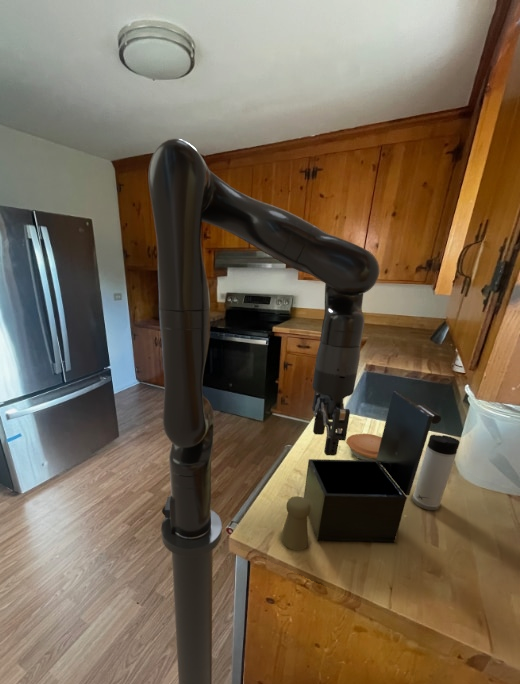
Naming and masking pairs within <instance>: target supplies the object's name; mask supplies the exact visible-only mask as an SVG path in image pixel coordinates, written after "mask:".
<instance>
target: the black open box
mask: <svg viewBox="0 0 520 684" xmlns="http://www.w3.org/2000/svg"><path fill="white" fill-rule="evenodd" d="M307 463H308V464H307V468H306V477H305V483H304V484H305V485H304V492H303V498H305V499H306V500H307V501H308V502H309V504H310V507H311V511H310V514H309V516H308V518H309V521H310V525H311V526H312V529H313V533H314V535H315V539H316V541H317V542H328V543H329V542H333V543H372V544H373V543H378V544H379V543H380V544H395V542H396V538H397V535H398V531H399V527H400V524H401V520H402V517H403V513H404V510H405V506H406V501H407V499H408V497H407V495H405V494H404V493H403V491H402V490H401V489H400V488H399V486H398V485H397V484H396V483H395V481H394V480H393V479H392V478H391V476H390V475H389V474H388V473H387V471H386V470H385V469H384V468H383V466H382V465H381V464H380V463H379V462H378V461H371V460H361V459H318V458H317V459H316V458H315V459H314V458H313V459H311V458H309V459H308V461H307Z"/></svg>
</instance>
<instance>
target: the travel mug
mask: <svg viewBox="0 0 520 684" xmlns="http://www.w3.org/2000/svg"><path fill="white" fill-rule="evenodd" d="M460 443H461V442H460V440H458V439H457V438H456V437H453V436H450V435H444V434H443V435H438V434H431V435H429V439H428V442H427V445H426V449H425V452H424V456H423V459H422V463H421V466H420V471H419V473H418V477H417V480H416V483H415V488H414V491H413V495H412V501H413V503H414V504H415V505H417V506H418V507H419V508H422V509H425V510H428V511H436V510H438V509H439V508H440V506H441V503H442V500H443V496H444V493H445V490H446V487H447V484H448V481H449V478H450V475H451V472H452V468H453V467H454V462H455V459H456V456H457V452H458V449H459V446H460Z"/></svg>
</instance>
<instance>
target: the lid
mask: <svg viewBox="0 0 520 684" xmlns="http://www.w3.org/2000/svg"><path fill="white" fill-rule="evenodd" d="M441 421H442V417H441V415H439V414H438V413H436V412H435V411H434V410H432V409H431V408H429V407H428V406H426V405H425V404H423V403H420V404H418V405H417V403H415V402H413V401H412V400H411V399H409V398H407V397H406V396H405V395H404V394H403V393H401V392H399V391H398V390H393V391H392V395H391V399H390V402H389V407H388V411H387V415H386V419H385V423H384V427H383V431H382V434H381V437H382V439H381V443H380V447H379V451H378V455H377V460H378V461H379V463H380V464H381V466H382V467H383V468H384V469H385V471H386V472H387V473H388V474H389V476H390V477H391V478H392V479H393V481H394V482H395V483H396V484H397V486H398V487H399V488H400V489H401V491H402V492H403V493H404V494H405V496H410V494H411V491H412V488H413V484H414V481H415V479H416V475H417V471H418V468H419V465H420V462H421V458H422V455H423V452H424V449H425V445H426V442H427V438H428V435H429V433H430V429H431V425H432V424H433V425H436V424H439V423H440V422H441Z"/></svg>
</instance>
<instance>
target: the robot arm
mask: <svg viewBox="0 0 520 684" xmlns="http://www.w3.org/2000/svg"><path fill="white" fill-rule="evenodd" d="M147 181H148V189H149V196H150V203H151V209H152V215H153V222H154V229H155V236H156V247H157V285H158V287H157V288H158V314H159V315H158V316H159V317H158V318H159V329H160V330H159V331H160V339H161V353H162V355H161V356H162V367H163V376H164V392H163V393H164V394H163V396H164V397H163V410H162V412H163V413H162V427H163V431H164V434H165V436H166V438H167V439H168V440H169V441H170V443H171V447H170V450H169V451H170V452H169V457H168V458H169V459H168V464H169V480H170V481H169V482H170V483H169V484H170V496H167V498H166V503H165V505H164V506H163V507H162V509H161V513H162V515H163V516H164V519H165V518H168V519H169V518H170V523H171V534H175V535H177V536H178V537H180V538H182V539H186V540H195V539H199V538H202V537H203V536H205V535H206V534H207V533H208V532H209V531H210V529H211V510H212V455H213V448H214V425H215V424H214V419H215V418H214V410H213V407H212V404H211V402H210V401H209V400H208V399H207V397H205V396H204V395H203V393H204V392H203V381H204V373H205V367H206V362H207V358H208V351H209V344H210V336H211V298H210V289H209V282H208V276H207V272H206V266H205V262H204V256H203V249H202V225H203V224H202V223H206V224H209V225H212V226H214V227H217V228H220V229H221V230H224V231H226V232H228V233H230V234H232V235H234V236H236V237H237V238H239V239H241V240H243V241H244V242H246V243H248V244H249V245H251V246H253V247H254V248H256V249H257V250H259V251H260V252H262V253H264V254H266V255H268V256H270V257H271V258H273V259H275V260H277V261H279V262H280V263H282V264H285V265H286V266H288V267H290V268H292V269H294V270H296V271H299V272H301V273H304V274H308V275H310V276H313V277H314V278H316V279H317V280H318V281H321V282H323V283H324V284H325V286H324V314H323V319H322V324H321V325H322V326H321V332H320V338H319V339H320V340H319V344H318V349H317V352H316V358H315V366H314V373H313V378H312V379H313V381H312V389H313V391H314V395H313V396H314V397H313V402H312V407H311V410H312V411H313V417H314V422H313V430H312V432H313V434H314V435H319V436H320V435H321V436H322V435H325V431H326V436H325V437H326V438H325V445H324V450H323V452H324V455H325V456H332V457H333V456H334V457H335V456H336V455H337V454H338V448H339V442H340V441H347V435H348V434H347V433H348V426H349V421H350V414H351V411H350V409H349V408H345V405H344V399H345V398H346V397H349V396H352V395H353V394H354V392H355V387H356V380H357V375H358V371H359V370H358V369H359V365H360V359H361V345H362V341H363V334H364V329H365V322H366V321H365V319H366V318H365V315H364V313H363V300H364V294H365V293H367V292H369V291H370V290H371V289H372V288H374V286H375V285H376V283H377V281H378V279H379V277H380V265H379V261H378V259H377V258H376V257H375V255H374V254H373V253H371V252H370V251H369V250H367V249H366V248H364V247H363V246H362V247H361V246H360V245H357V244H356V243H353V242H351V241H348V240H346V239H343V238H340V237H339V236H338V237H337V236H335V235H332V234H329V233H327V232H326V231H324V230H323V229H321V228H319V227H317V226H316V225H314V224H312V223H310V222H309V221H306V220H305V219H303V218H301V217H299V216H298V215H296V214H294V213H292V212H289V211H287V210H285V209H283V208H280V207H277V206H275V205H272V204H269V203H266V202H264V201H260V200H259V199H255V198H253V197H250V196H248V195H246V194H244V193H242V192H240V191H238V190H237V189H235V188H233V187H232V186H230V185H229V184H228V183H227V182H225V181H224V180H223V179H221V178H220V177H218V176H217V175H216V174H215V173H213V172H212V171H211V170H210V168H209V167H208V165H207V164H206V161H205V160H204V158H203V156H202V155H201V154H200V152H199V151H198V150H197V149H196V148H195V147H194V146H193V145H192V144H191V143H189V142H187V141H185V140H184V139H180V138H170V139H167V140H165V141H163V142H162V143H161V144H160V145H158V146H157V148H156V149H155V150H154V152H153V154H152V156H151V159H150V161H149V165H148V172H147Z"/></svg>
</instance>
